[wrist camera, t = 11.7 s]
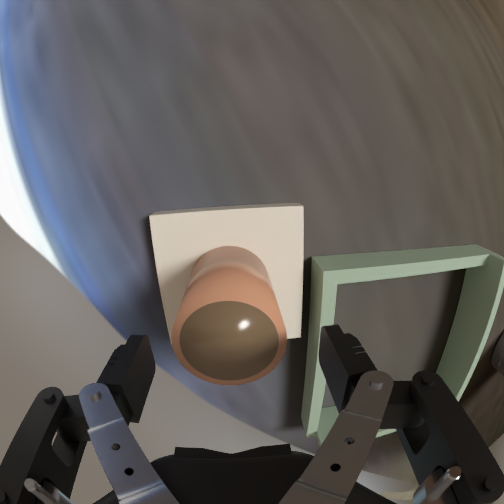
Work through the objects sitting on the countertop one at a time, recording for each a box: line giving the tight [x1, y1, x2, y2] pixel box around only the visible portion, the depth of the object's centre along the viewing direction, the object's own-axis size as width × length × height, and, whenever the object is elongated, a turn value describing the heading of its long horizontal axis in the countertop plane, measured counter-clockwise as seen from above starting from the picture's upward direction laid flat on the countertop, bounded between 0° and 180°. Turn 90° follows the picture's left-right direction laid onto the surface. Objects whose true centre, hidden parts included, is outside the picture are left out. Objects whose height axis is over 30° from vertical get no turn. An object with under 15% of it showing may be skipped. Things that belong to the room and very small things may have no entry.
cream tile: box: [149, 203, 304, 345], centre depth 20 cm, size 10×10×2 cm
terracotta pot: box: [171, 246, 287, 385], centre depth 16 cm, size 5×5×7 cm
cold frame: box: [301, 244, 504, 448], centre depth 21 cm, size 18×18×5 cm
